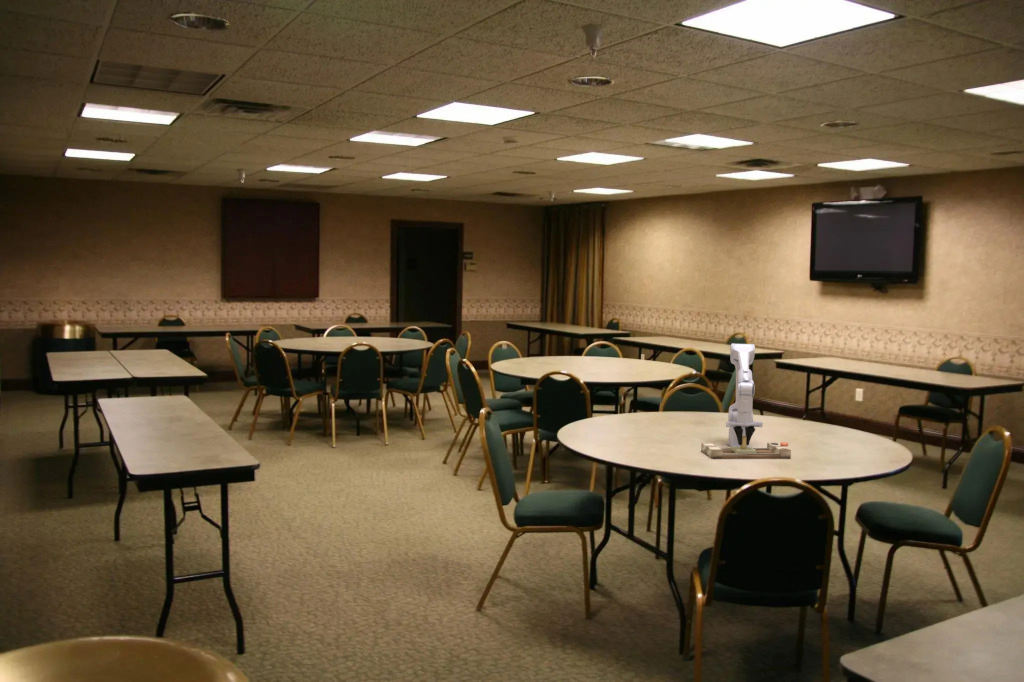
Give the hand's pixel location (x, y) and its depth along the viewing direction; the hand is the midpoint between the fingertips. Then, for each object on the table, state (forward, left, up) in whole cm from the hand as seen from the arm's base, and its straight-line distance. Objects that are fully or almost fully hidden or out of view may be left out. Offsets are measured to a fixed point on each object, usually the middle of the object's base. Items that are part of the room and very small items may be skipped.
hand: (743, 444), depth 321 cm
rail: (0, +1, -4) cm, 4 cm away
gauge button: (+5, +15, +1) cm, 16 cm away
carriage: (0, 0, -3) cm, 3 cm away
